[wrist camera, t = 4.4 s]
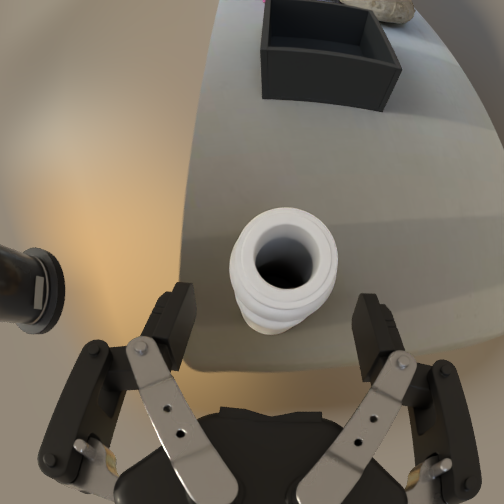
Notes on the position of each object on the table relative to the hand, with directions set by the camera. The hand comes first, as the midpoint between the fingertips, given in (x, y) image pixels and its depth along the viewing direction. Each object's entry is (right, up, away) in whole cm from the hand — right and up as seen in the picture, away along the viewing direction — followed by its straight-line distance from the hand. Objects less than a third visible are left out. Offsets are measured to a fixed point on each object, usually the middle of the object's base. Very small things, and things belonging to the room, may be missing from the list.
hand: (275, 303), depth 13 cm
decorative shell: (+25, +55, +26) cm, 66 cm away
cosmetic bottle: (+1, -3, +14) cm, 15 cm away
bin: (+9, +30, +21) cm, 38 cm away
